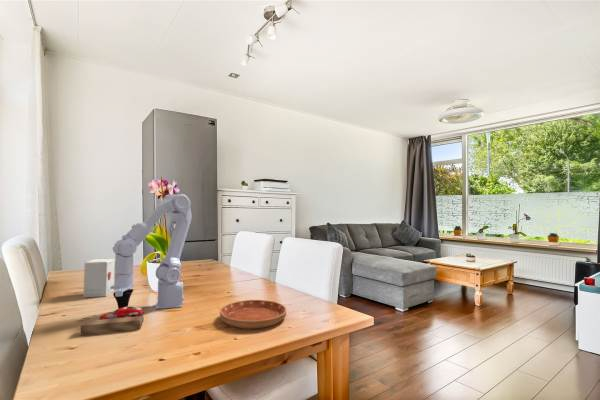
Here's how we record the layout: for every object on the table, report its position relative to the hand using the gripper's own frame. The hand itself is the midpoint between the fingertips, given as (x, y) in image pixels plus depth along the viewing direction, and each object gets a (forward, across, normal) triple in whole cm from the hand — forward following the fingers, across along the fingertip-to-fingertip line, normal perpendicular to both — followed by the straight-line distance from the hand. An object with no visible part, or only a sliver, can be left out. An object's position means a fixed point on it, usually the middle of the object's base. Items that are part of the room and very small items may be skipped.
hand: (123, 311), depth 110 cm
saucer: (+2, +16, +44) cm, 47 cm away
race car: (+2, +4, 0) cm, 4 cm away
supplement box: (+2, -32, -16) cm, 36 cm away
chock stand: (+1, +12, 0) cm, 12 cm away
